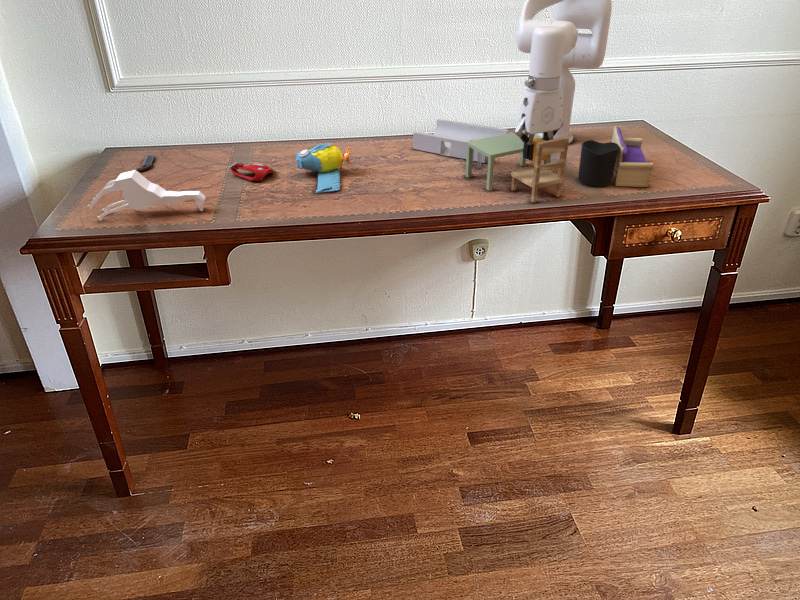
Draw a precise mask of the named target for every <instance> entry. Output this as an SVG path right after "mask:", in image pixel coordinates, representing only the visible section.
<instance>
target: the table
mask: <svg viewBox="0 0 800 600" xmlns="http://www.w3.org/2000/svg"><path fill="white" fill-rule="evenodd" d="M522 132H523V133H524V130H523V131H522ZM528 138H529V135H528ZM535 138H543V137H541V136H538V135H536V134H535V135H534V139H535ZM466 145H467V157H466V159H465V178H467V179H469V178H472V173H473V165H472V155H473V149H474V150H476V151H478V152H479V153H481V154H483V155H485V157H486V156H487V157H488V161H487V171H486V172H487V173H486V186H485V189H486V191H488V192H490V191H493V188H494V187H493V185H494V173H495V172H494V171H495V159H497V158H500V157H506V156H511V155H515V154H520V157H519V166H521V167H525V166H526V165H527V159H526V158H524V157H523V146H524V142H522V140H521V139H520V138H519V137H518V136H517V135H515V134H514V132H509V134H503V135H498V136H493V137H488V138H483V139H477V140H472V141H467V142H466ZM551 157H552V154H549V156H548V159H547V160H543V164H546V163H551ZM548 170H549V171H550V169H548Z"/></svg>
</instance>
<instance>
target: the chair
mask: <svg viewBox="0 0 800 600" xmlns="http://www.w3.org/2000/svg"><path fill="white" fill-rule="evenodd" d="M568 143H569V138H568V137H563V138H558V139H553V140H548V141H543V142H538V143H537V144H536V153H535V162H533V166H531V167H525V168H521V169H517V170H512V171H511V174H510V176H511V186H510V191H512V192H515V191H517V187H518V181H520V182H521V183H523V184H525V185H526V186H529V187H530V188H532V189H531V196H530V203H533V204H534V203H537V199H538V191H539V189H540V188H545V187H550V186H553V185H555V190H554V197H556V198H559V197H561V191H562V186H563V185H562V183H564V180H565V179H564V178H565V172H566V166H567V165H566V163H567V157H568V151H569V144H570V143H569V144H568ZM557 153H559V159H558V160H557V161H556V160H555V161H552V162H551V161H550V163H546V164H544V163H542V161H543V160H542V156H544V155H549V154H551V155H553V154H557ZM541 160H542V161H541ZM556 168H558V169H557V173H555V172H553V171H551V170H553V169H556ZM548 169H549V170H548Z"/></svg>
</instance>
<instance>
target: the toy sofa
mask: <svg viewBox="0 0 800 600" xmlns="http://www.w3.org/2000/svg"><path fill="white" fill-rule="evenodd" d="M623 136H624V135H623V134H622V131H621V128H620V127H619V126H613V130H612V137H611V139H610V142H613V143H616V144H618V145H619V150H618V155H617V159H616V164H615V168H614V171H615V173H616V177H615V182H614V183H615V184H614V186H615V187H630V188H631V187H634V188H648V187H649V186H650V185H649V184H650V181H651V175H652V170H653V168H654V163H653V162H648V161H647V159H646V156H645V154H644V152H643V150H642V144H643V138H642V137H623Z"/></svg>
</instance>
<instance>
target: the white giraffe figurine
mask: <svg viewBox="0 0 800 600" xmlns="http://www.w3.org/2000/svg"><path fill="white" fill-rule="evenodd" d="M121 191H122V195H121V198H122V199H123V200H119V201H116V202H114V203H111V204H109V205H106V207H105V208H102V209H101V211H103V213H101V214H100V215H97V216H96V218H97V219H98V220H99V221H100V222H102V220H103V218H104V217H105V216H107V215H110V214H112V213H116V212H121V211H123V210H125V209H128V210H129V209H130V210H132V211H133V210H134V211H137V212H138V211H139V212H140V211H143V210H146V209H150V208H152V207H156V206H158V207H159V206H160V207H163V206H173V205H176V204H178V203H181V202H185V201H191V200H194V205H195V207H196V208H197V209H198V210H199V211H200V212H203V211H204V208H205V201H206V198H207V196H206V195H205V194H203V192H202V191H200V190H182V191H181V190H180V191H178V190H176V191H174V190H166V188H164V187H161V185H159V184H157V183H153V182H151V181H150V180H149V179H148V178H146V177H145V176H144V175H143V174H142V173H140V172H138V171H137V170H136V169H133V170H129V171H124V172H121V173H119V175H118V176H117V178H116V179H113V180H112V179H111V180H109V181H108V182H107V184H106V185H105V186H104V187H103V188H102V189H101V190H100V191H99V192H98V193H97V194H96V195H95V196H94V197H92V200H91V202H90V203H89V204H87V207H88V208H89V209H90V210H91V211H92V210H93V208H94V206H95V204H97V203H98V201H99V200H100V199H101V198H102V197H103V196H104V195H105V194H107V193H114V192H121ZM120 205H121V206H120ZM117 206H118V207H117ZM113 207H115V208H113ZM111 208H112V209H111Z"/></svg>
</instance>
